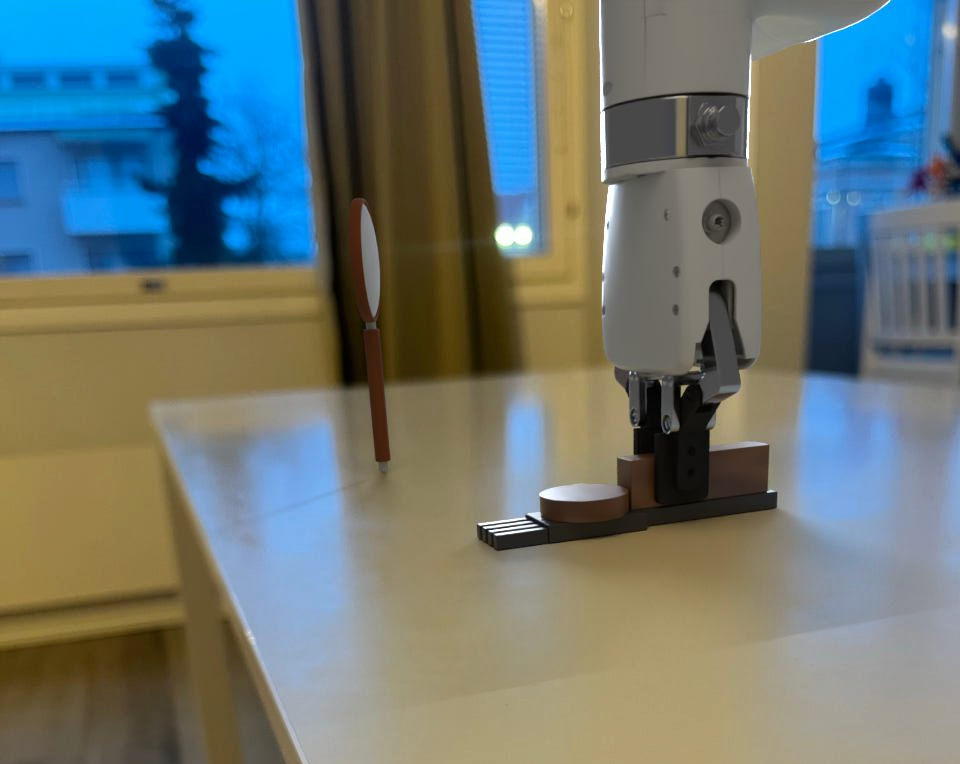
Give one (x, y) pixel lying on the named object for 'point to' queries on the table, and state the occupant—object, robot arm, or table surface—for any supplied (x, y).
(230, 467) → the table surface
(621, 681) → the table surface
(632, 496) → the brown disc and block
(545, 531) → the fork
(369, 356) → the magnifying glass
